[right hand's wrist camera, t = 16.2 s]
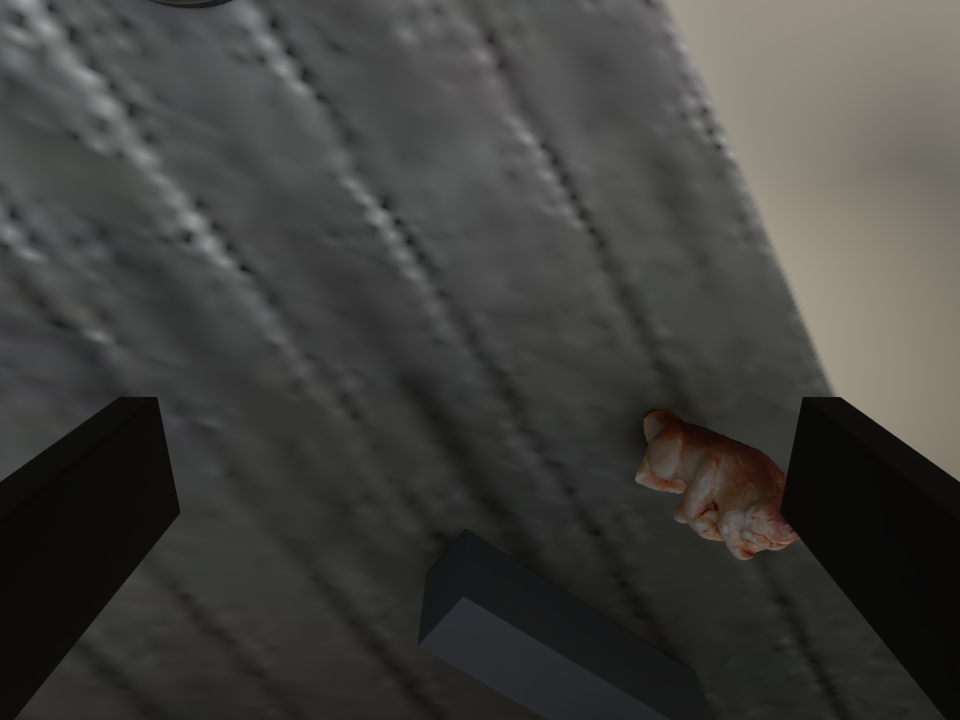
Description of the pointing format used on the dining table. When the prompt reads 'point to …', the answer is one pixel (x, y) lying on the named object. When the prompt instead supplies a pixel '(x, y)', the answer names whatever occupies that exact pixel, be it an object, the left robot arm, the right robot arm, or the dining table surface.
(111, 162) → the dining table surface
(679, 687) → the bar
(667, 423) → the figurine
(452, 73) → the dining table surface
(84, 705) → the dining table surface
